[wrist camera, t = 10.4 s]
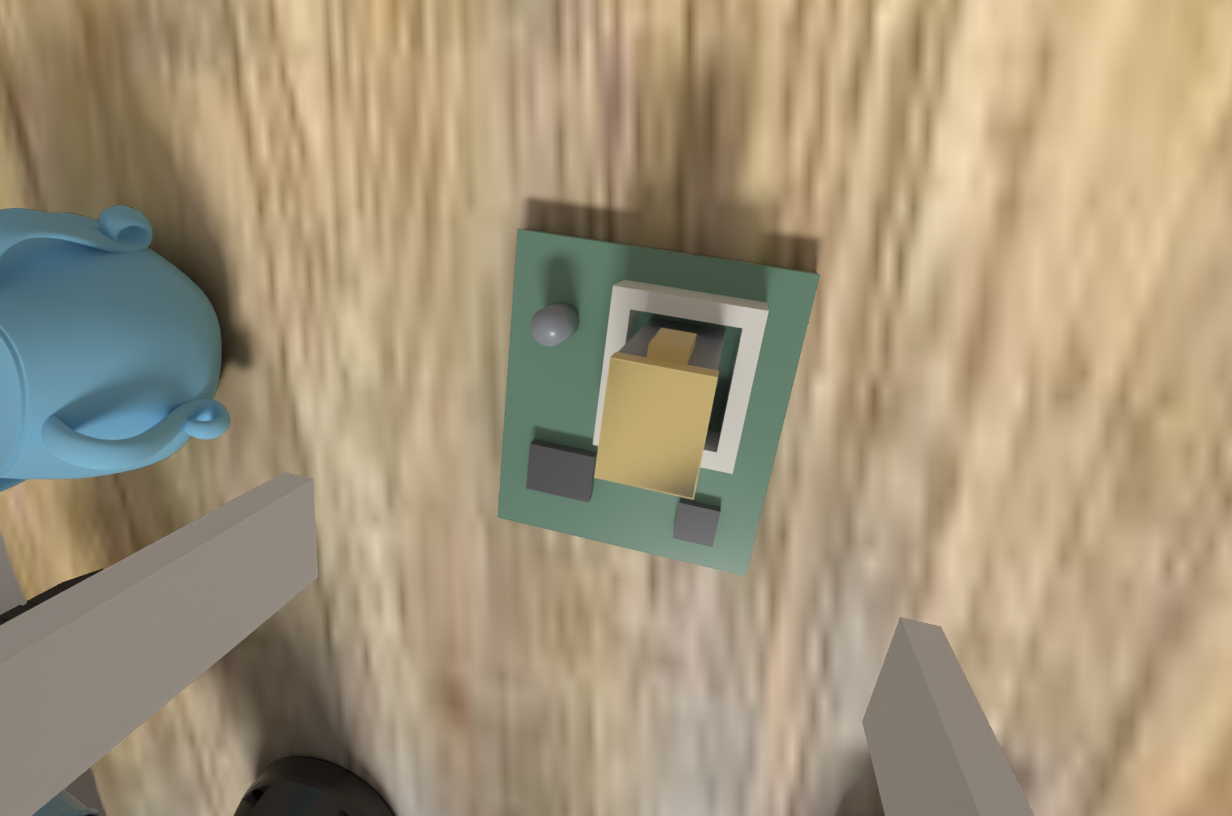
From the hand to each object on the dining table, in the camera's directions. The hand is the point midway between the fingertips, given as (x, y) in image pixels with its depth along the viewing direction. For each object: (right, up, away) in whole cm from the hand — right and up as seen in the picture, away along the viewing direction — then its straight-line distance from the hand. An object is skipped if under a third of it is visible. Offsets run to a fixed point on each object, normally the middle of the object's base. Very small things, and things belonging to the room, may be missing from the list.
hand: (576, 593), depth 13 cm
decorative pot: (-32, +9, +28) cm, 43 cm away
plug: (+4, +6, +19) cm, 20 cm away
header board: (+2, +4, +22) cm, 22 cm away
